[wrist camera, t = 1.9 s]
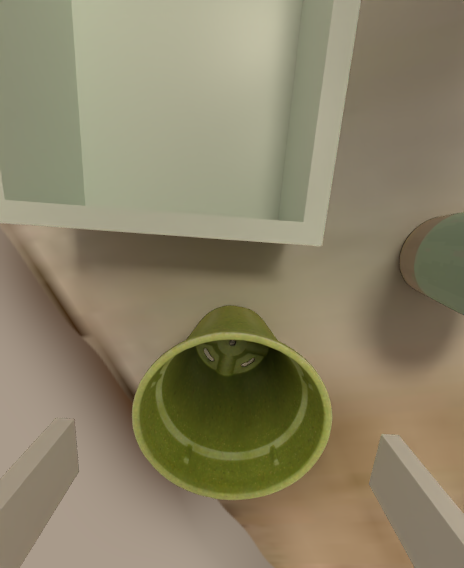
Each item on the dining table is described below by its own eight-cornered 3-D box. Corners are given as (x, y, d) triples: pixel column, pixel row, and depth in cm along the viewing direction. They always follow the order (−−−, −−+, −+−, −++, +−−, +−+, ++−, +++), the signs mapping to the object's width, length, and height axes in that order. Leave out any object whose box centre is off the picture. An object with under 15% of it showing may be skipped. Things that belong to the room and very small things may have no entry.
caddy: (49, -197, 12) (-167, -700, 6) (336, -164, 13) (456, -602, 6) (80, 222, 17) (-16, 221, 11) (286, 238, 18) (322, 246, 11)
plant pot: (218, 408, 21) (211, 528, 13) (150, 327, 19) (88, 405, 11) (310, 352, 20) (367, 445, 12) (245, 260, 18) (259, 291, 10)
